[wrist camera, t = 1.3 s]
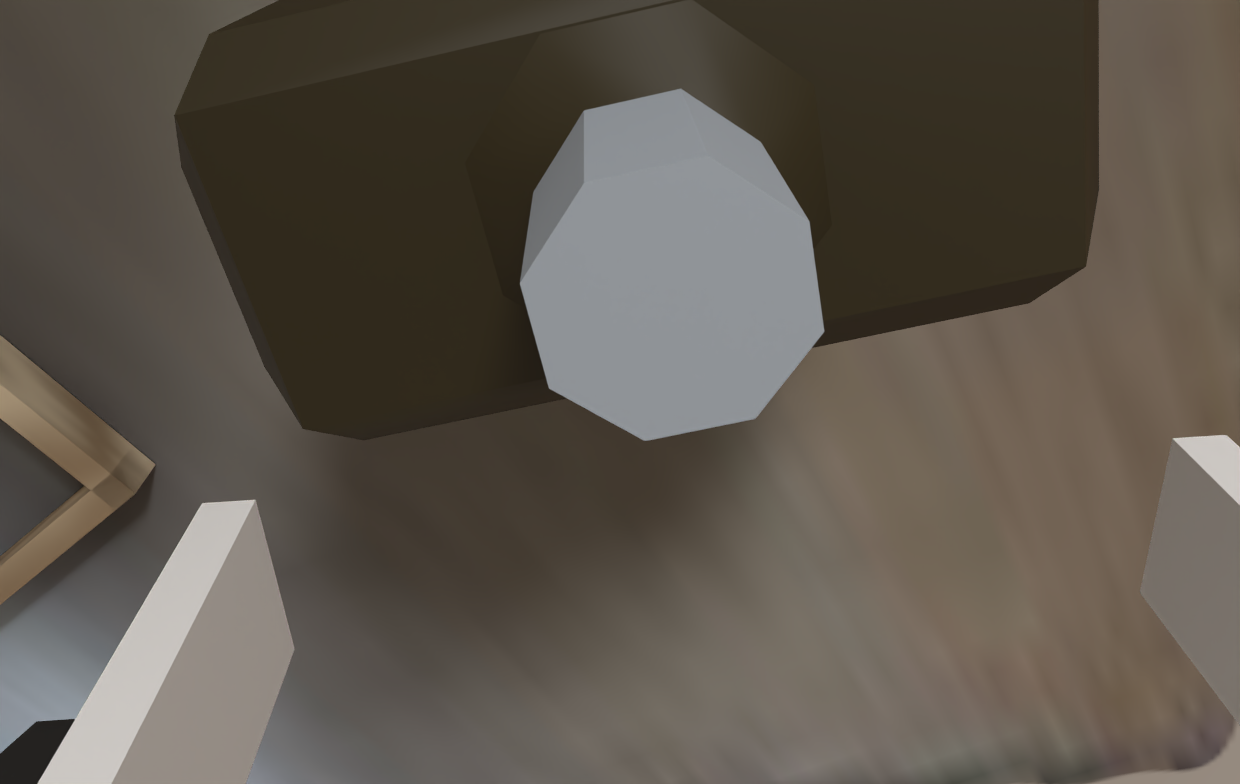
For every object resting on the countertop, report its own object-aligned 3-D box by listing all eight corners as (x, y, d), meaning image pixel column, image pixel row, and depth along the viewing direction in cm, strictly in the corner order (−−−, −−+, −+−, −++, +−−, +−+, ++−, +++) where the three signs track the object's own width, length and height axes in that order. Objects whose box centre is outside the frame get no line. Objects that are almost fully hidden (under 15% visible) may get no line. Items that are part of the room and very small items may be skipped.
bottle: (354, -47, 34) (-65, 139, 12) (836, -162, 33) (1346, -190, 11) (426, 186, 38) (204, 656, 16) (863, 88, 37) (1286, 447, 15)
